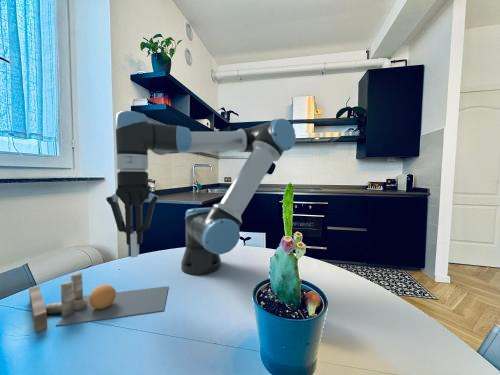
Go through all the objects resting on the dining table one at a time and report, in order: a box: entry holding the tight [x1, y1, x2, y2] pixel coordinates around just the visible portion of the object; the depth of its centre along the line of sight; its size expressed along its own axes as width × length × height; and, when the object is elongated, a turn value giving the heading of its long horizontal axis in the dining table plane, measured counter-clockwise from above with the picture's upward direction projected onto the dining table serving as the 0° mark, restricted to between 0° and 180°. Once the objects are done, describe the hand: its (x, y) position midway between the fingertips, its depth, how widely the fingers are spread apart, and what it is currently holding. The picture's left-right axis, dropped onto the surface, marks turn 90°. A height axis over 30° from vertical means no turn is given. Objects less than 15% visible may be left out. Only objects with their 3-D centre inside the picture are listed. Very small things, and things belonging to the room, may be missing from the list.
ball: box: [89, 284, 117, 309], centre depth 60 cm, size 6×6×6 cm
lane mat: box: [55, 286, 169, 327], centre depth 62 cm, size 24×13×1 cm, turn 105°
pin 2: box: [70, 271, 84, 301], centre depth 62 cm, size 2×2×8 cm
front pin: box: [45, 299, 87, 315], centre depth 59 cm, size 2×2×8 cm
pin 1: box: [60, 280, 74, 319], centre depth 57 cm, size 2×2×8 cm
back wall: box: [28, 285, 48, 333], centre depth 57 cm, size 18×2×4 cm, turn 47°
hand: (135, 255), depth 62 cm, fingers closed
